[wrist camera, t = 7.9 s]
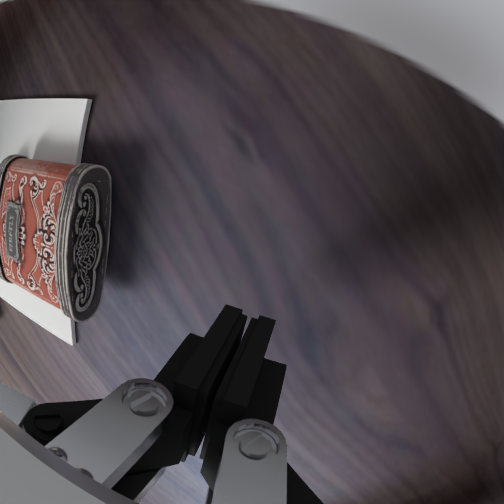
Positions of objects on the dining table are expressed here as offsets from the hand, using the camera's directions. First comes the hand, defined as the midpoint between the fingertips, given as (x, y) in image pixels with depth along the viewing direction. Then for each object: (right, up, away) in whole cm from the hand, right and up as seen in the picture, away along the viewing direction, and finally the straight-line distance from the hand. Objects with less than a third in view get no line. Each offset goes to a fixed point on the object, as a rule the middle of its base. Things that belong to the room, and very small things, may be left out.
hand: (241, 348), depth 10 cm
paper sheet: (-16, +6, +7) cm, 18 cm away
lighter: (-7, +3, +4) cm, 9 cm away
